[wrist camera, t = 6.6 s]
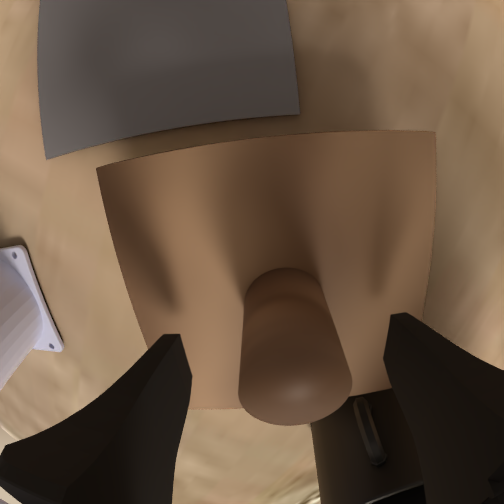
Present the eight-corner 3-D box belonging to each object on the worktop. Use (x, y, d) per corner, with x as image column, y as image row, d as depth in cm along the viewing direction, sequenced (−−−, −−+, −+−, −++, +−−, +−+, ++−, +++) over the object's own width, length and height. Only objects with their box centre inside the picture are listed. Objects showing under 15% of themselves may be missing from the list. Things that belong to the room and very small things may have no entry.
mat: (50, 158, 14) (46, 159, 13) (48, -33, 9) (44, -35, 8) (299, 114, 13) (300, 114, 13) (267, -93, 8) (267, -97, 8)
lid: (176, 398, 15) (156, 481, 10) (106, 164, 10) (13, 200, 6) (401, 374, 14) (435, 452, 9) (424, 131, 10) (522, 146, 5)
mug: (412, 324, 17) (477, 435, 9) (428, 415, 21) (461, 495, 13) (276, 382, 19) (282, 508, 11) (330, 455, 23) (343, 539, 15)
